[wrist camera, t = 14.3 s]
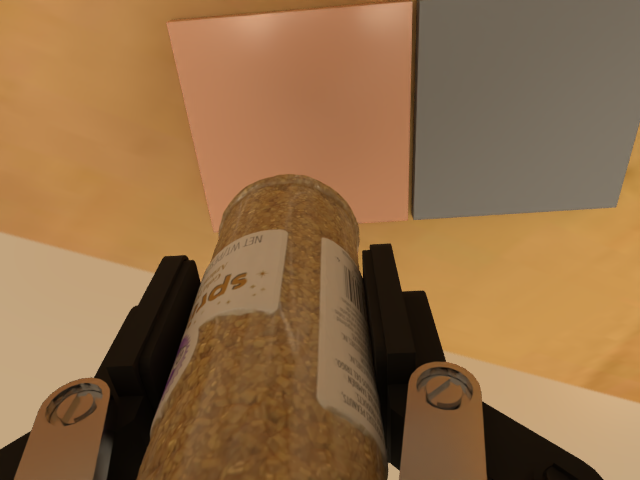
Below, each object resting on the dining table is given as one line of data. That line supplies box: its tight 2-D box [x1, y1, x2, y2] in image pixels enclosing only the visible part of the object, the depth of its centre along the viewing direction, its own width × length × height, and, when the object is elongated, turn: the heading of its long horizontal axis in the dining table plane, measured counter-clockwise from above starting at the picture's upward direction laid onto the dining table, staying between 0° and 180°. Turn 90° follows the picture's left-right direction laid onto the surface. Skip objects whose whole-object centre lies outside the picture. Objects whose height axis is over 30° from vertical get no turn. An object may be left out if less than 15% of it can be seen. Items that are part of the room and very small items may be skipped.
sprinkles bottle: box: [136, 174, 388, 480], centre depth 10 cm, size 5×5×14 cm
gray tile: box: [411, 0, 640, 220], centre depth 29 cm, size 14×14×1 cm
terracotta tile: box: [166, 0, 412, 232], centre depth 30 cm, size 14×14×1 cm
